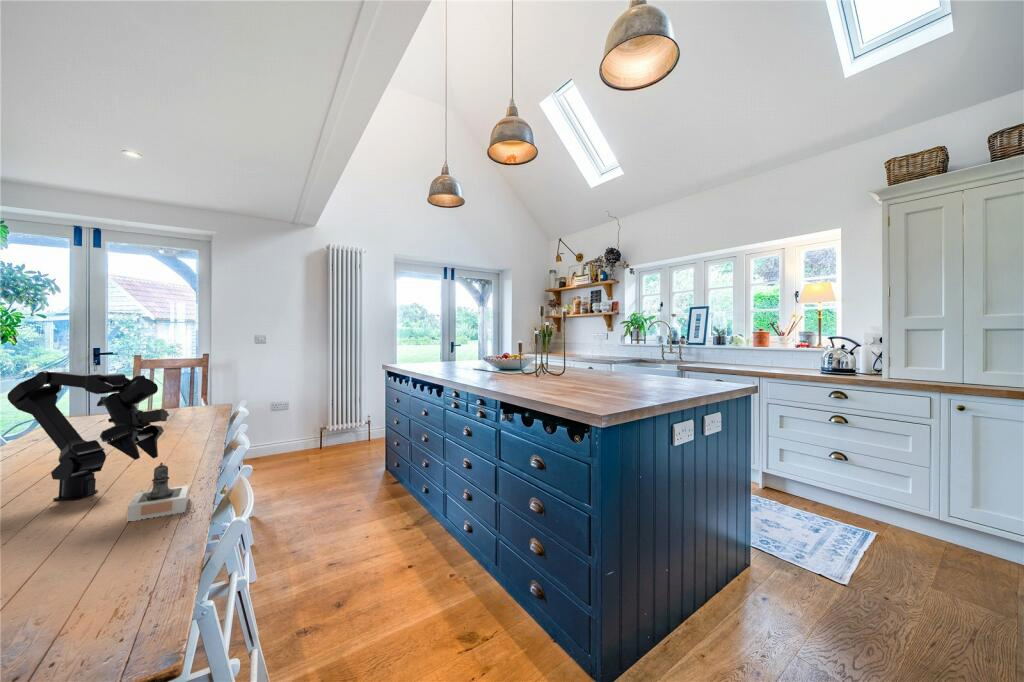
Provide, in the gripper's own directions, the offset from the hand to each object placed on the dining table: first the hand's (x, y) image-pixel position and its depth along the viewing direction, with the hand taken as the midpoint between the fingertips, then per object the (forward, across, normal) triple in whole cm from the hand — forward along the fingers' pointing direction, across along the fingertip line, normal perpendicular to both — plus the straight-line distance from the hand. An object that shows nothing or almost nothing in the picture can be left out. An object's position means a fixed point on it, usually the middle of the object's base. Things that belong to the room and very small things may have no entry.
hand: (147, 458), depth 111 cm
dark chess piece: (+15, -6, 0) cm, 16 cm away
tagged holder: (+16, -6, 0) cm, 17 cm away
